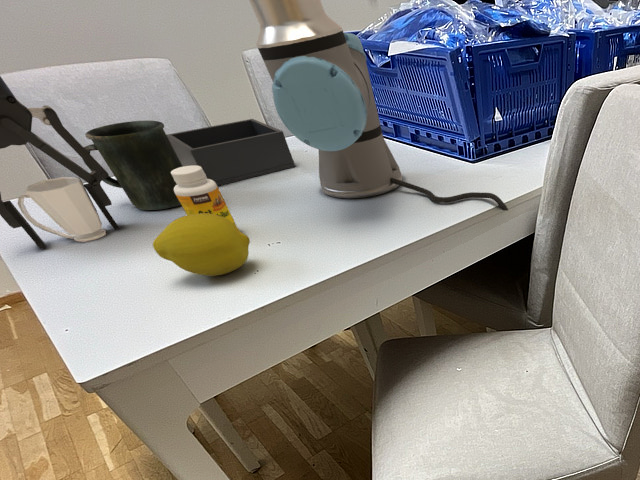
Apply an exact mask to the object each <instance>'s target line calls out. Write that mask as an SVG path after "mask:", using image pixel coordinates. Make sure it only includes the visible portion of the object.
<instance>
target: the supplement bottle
mask: <svg viewBox="0 0 640 480" xmlns="http://www.w3.org/2000/svg"><path fill="white" fill-rule="evenodd" d="M171 174H172V176H173V178H174V181H175V182H176V184H177V185H176V186H175V187H174V192H175V194H176V196H177V198H178V200H179V202H180V203H181V205H180V206H181V207H182V209H183V211H184V212H185V215H191V214H200V213H209V214H215V215H218V216H222V217H224V218H226V219H228V220H230V221H231V222H232V223H234V224H235V225H236V226H237V224H236V221H235V220H234V218H233V216H232V214H231V211H230V209H229V207H228V205H227V203H226V201H225V199H224V197H223V195H222V192H221V191H220V188H219V186H217V184H216V183H215V182H214V181H213V180H211V179H207V177H206V174H205V173H204V171H203V169H202V167H200V166H196V165H193V166H184V167H180V168H177V169H174V170H172V171H171Z"/></svg>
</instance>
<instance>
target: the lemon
mask: <svg viewBox="0 0 640 480" xmlns="http://www.w3.org/2000/svg"><path fill="white" fill-rule="evenodd" d="M235 224H236V223H235ZM235 224H234V223H232V222H231V221H230V220H228V219H226V218H224V217H222V216H218V215H215V214H209V213H200V214H191V215H187V214H185V215H183V216H180V217H178V218H175V219H174V220H173V221H172V222H170V223H169V224H167V226H165V228H163V230H162V231H161V232H160V233H159V234H158V235H157V236H156V237H155V239H154V240H153V242H152V248H153V249H154V251H155V252H156V254H157V255H158V256H159V257H160V258H162V259H164V260H167V261H170V262H172V263H173V264H174V265H176V266H177V267H179V268H180V269H182V270H184V271H186V272H188V273H191V274H196V275H200V276H208V277H209V276H213V277H215V276H222V275H226V274H229V273H232V272H234V271H235V270H238V269H239V268H241V267H242V266H243V265H244V264H245V263H246V262H247V260H248V258H249V246H250V243H251V239H250V238H249V236H248V235H247V234H245V233H242V231H241V230H240V228H238V226H237V224H236V225H235Z"/></svg>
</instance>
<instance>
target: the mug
mask: <svg viewBox="0 0 640 480" xmlns="http://www.w3.org/2000/svg"><path fill="white" fill-rule="evenodd" d="M164 128H165V124H164V123H163V122H161V121H158V120H133V121H124V122H117V123H112V124H111V123H110V124H107V125H102V126H99V127H95V128H92V129H89V130H88V131H86V132H85V137H86V139H88V140H90V141H91V142H92V143H93V144H88V145H86V146H83V147H84V148H85V150H86V151H87V152H88V153H89V154H90V155H91V152H93V151H94V152H95V151H98V152H99V155H101V157H102V159H103V160H104V162H105V164H106V165H107V167H108V168H109V170H110V171H111V173H112V174H113V176H114V178H113V177H111V176H110V175H109V177H108V178H105V179H103V180H102V181H101V182H103V183H104V184H106V185H108V186H111V187H113V188H118V189H122V190H123V192H124V193H125V195H126V197H127V198H128V200H129V201H130V203H131V204H132V206H134V207H135V208H137V209H138V210H143V211H158V210H166V209H171V208H175V207H178V206H182V205H181V203H180V202H179V200H178V198H177V196H176V194H175V192H174V187H175V186H176V185H177V184H176V182H175V181H174V178H173V176H172V174H171V171H172V170H174V169H177V168H180V167H183V166H182V164H181V162H180V160H179V158H178V156H177V154H176V152H175V151H174V149H173V147H172V145H171V143H170V141H169V139H168V137H167V133H166V132H165V129H164ZM82 162H83V163H84V164H85V165H86V167H87V168H88V169H89V170H90V172H92V171H94V170H93V169H92V168H91V167H90V166H89V165H88V164H87V163H86V162H85V161H84V160H83V159H82Z"/></svg>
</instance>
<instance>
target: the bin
mask: <svg viewBox="0 0 640 480" xmlns="http://www.w3.org/2000/svg"><path fill="white" fill-rule="evenodd" d="M166 135H167V137H168V139H169V141H170V143H171V145H172V147H173V149H174V151H175V152H176V154H177V156H178V158H179V160H180V162H181V164H182V166H183V167H184V166H193V165H196V166H200V167H202V169H203V171H204V173H205V174H206V177H207V179H211V180H213V181H214V182H215V183H216V184H217V186H218V187H219V186H224V185H227V184H231V183H235V182H239V181H243V180H248V179H251V178H255V177H260V176H265V175H268V174H271V173H275V172H279V171H283V170H288V169H291V168H295V167H296V164H295V162H294V159H293V156H292V153H291V150H290V147H289V145H288V142H287V140H286V137H285V134H284V132H283V131H282V130H281V129H278V128H276V127H273V126H272V125H268V124H266V123H263V122H262V121H259V120H256V119H254V118H249V119H243V120H238V121H233V122H228V123H222V124H217V125H216V124H215V125H212V126H206V127H200V128H195V129H190V130H184V131H183V130H182V131H178V132H174V133H166Z"/></svg>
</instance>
